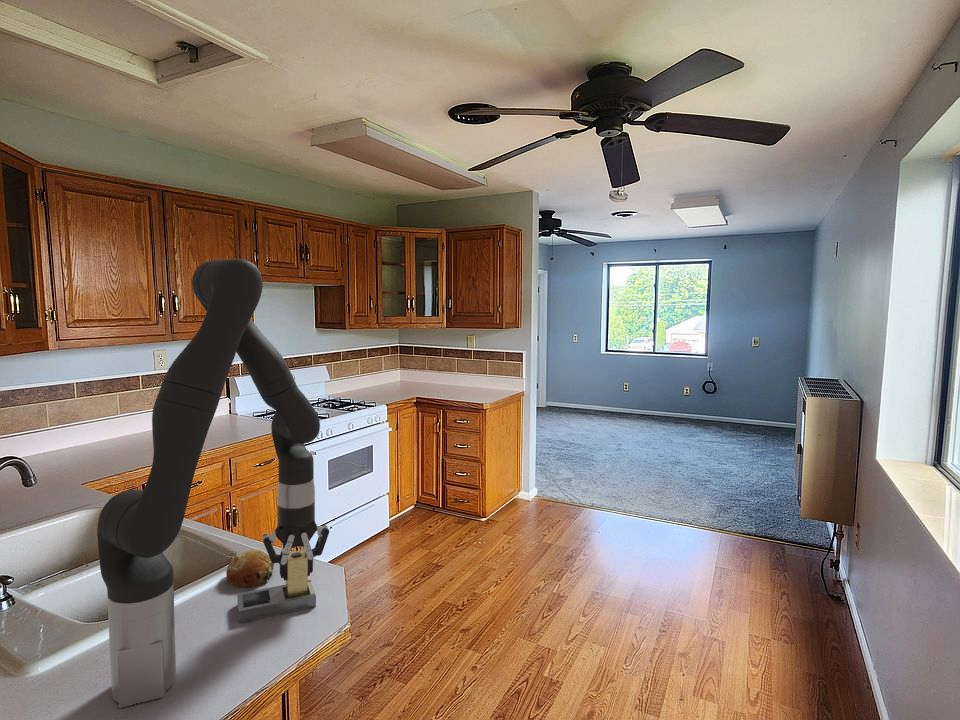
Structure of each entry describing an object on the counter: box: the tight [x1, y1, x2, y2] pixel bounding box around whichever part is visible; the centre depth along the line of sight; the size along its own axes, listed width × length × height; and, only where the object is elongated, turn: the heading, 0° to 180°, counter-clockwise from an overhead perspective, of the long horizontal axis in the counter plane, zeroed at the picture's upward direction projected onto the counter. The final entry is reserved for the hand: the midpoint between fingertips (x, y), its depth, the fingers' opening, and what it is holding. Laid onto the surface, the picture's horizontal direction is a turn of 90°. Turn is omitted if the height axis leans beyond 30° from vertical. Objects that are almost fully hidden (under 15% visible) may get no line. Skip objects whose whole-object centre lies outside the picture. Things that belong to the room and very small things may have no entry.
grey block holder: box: [236, 579, 317, 624], centre depth 115 cm, size 7×15×2 cm, turn 116°
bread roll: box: [226, 549, 275, 588], centre depth 126 cm, size 10×10×8 cm
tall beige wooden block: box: [285, 549, 309, 597], centre depth 116 cm, size 4×4×8 cm
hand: (296, 576), depth 116 cm, fingers closed on tall beige wooden block, 4 cm apart
